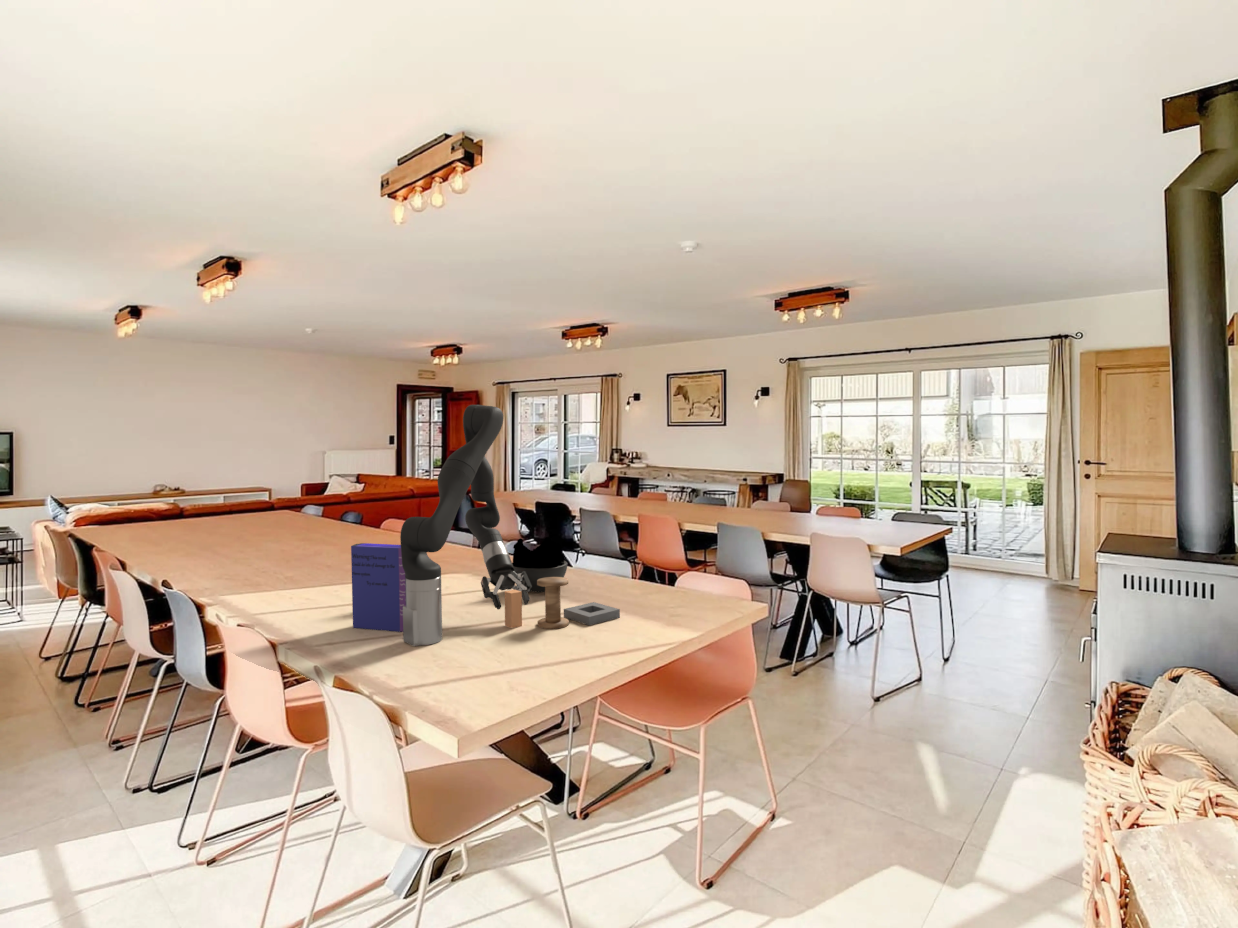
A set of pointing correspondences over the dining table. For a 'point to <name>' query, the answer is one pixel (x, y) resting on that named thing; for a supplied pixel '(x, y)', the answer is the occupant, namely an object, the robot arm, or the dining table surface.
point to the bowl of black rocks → (539, 562)
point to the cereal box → (378, 587)
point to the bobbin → (552, 603)
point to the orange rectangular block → (513, 608)
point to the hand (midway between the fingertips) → (513, 605)
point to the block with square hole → (591, 613)
